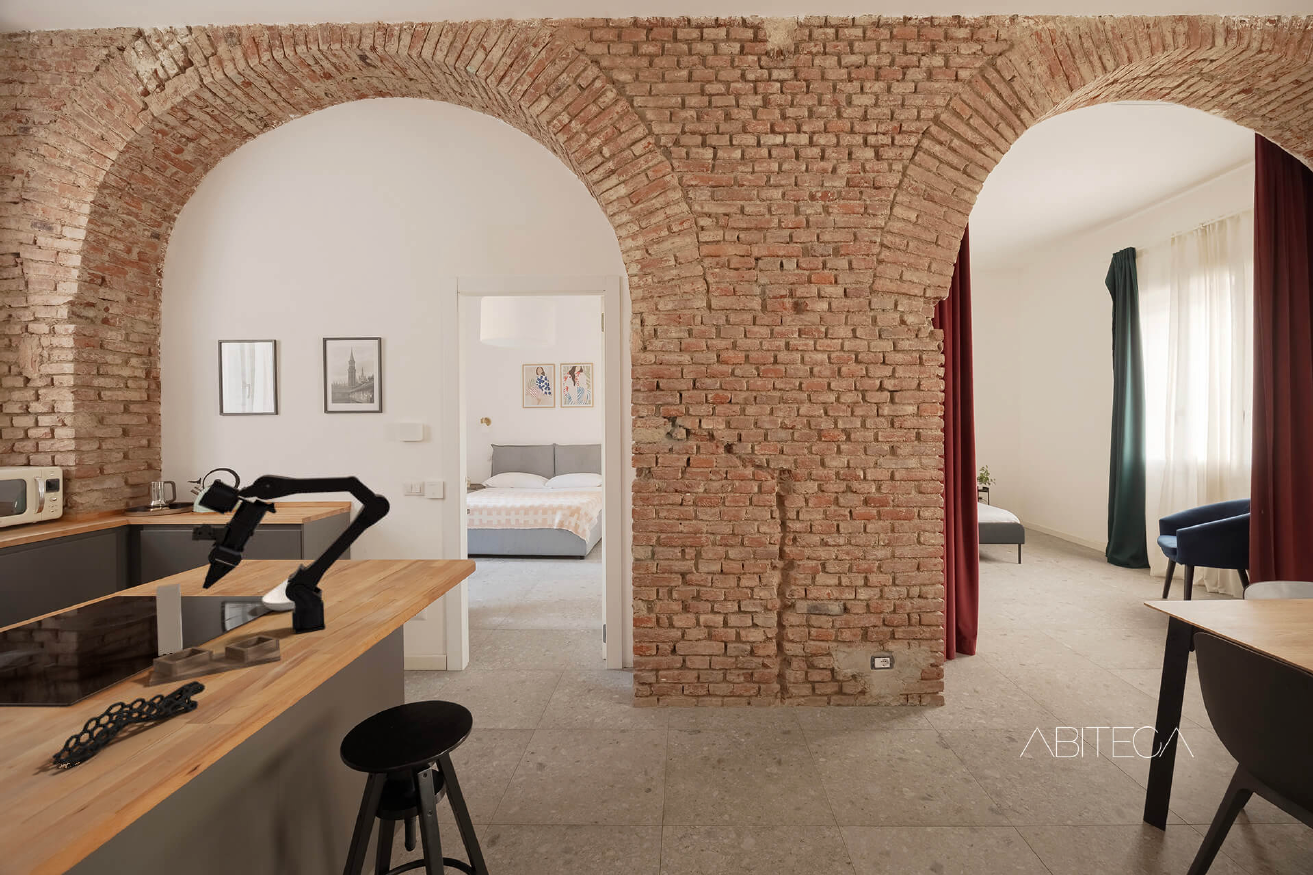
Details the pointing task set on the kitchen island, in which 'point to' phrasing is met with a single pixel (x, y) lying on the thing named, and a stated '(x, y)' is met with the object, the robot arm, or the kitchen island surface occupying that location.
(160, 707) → the decorative element
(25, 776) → the kitchen island surface
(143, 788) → the kitchen island surface
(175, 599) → the beige rectangular block
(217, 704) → the kitchen island surface
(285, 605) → the spoon rest
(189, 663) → the double compartment tray
